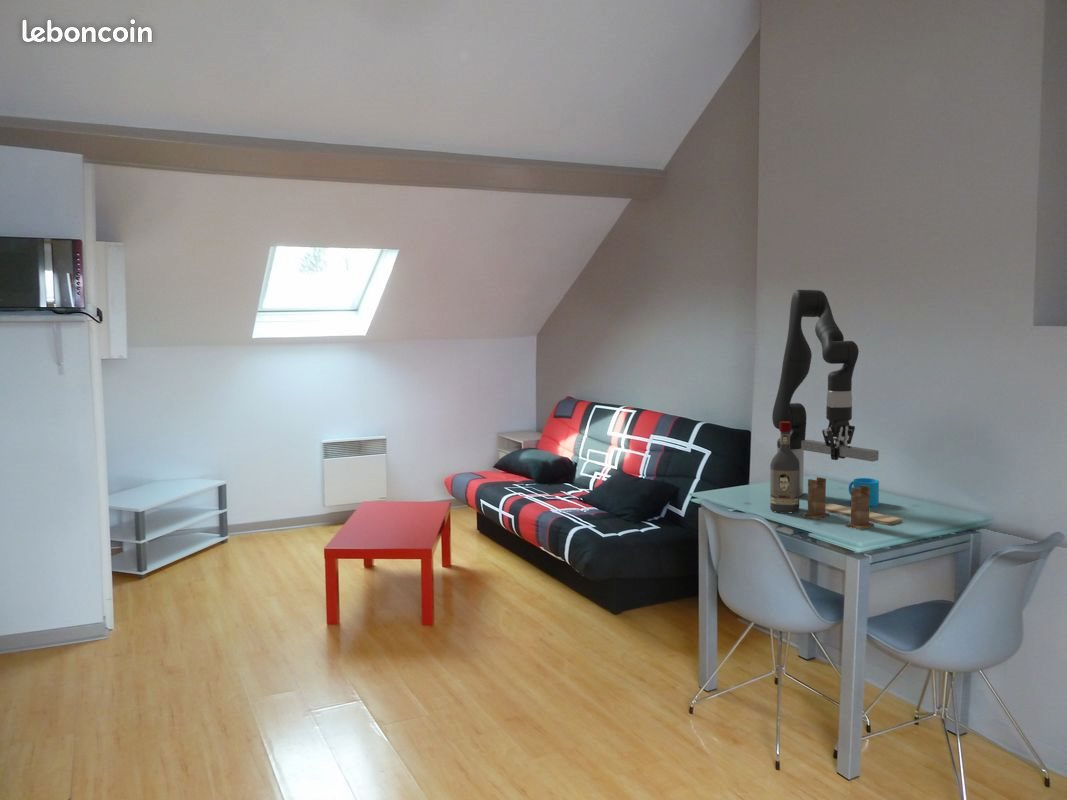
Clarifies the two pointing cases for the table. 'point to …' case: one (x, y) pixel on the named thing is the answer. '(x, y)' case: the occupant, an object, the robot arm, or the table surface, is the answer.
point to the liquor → (784, 475)
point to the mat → (872, 516)
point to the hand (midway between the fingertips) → (838, 458)
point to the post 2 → (860, 507)
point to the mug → (873, 488)
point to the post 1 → (816, 498)
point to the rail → (841, 450)
